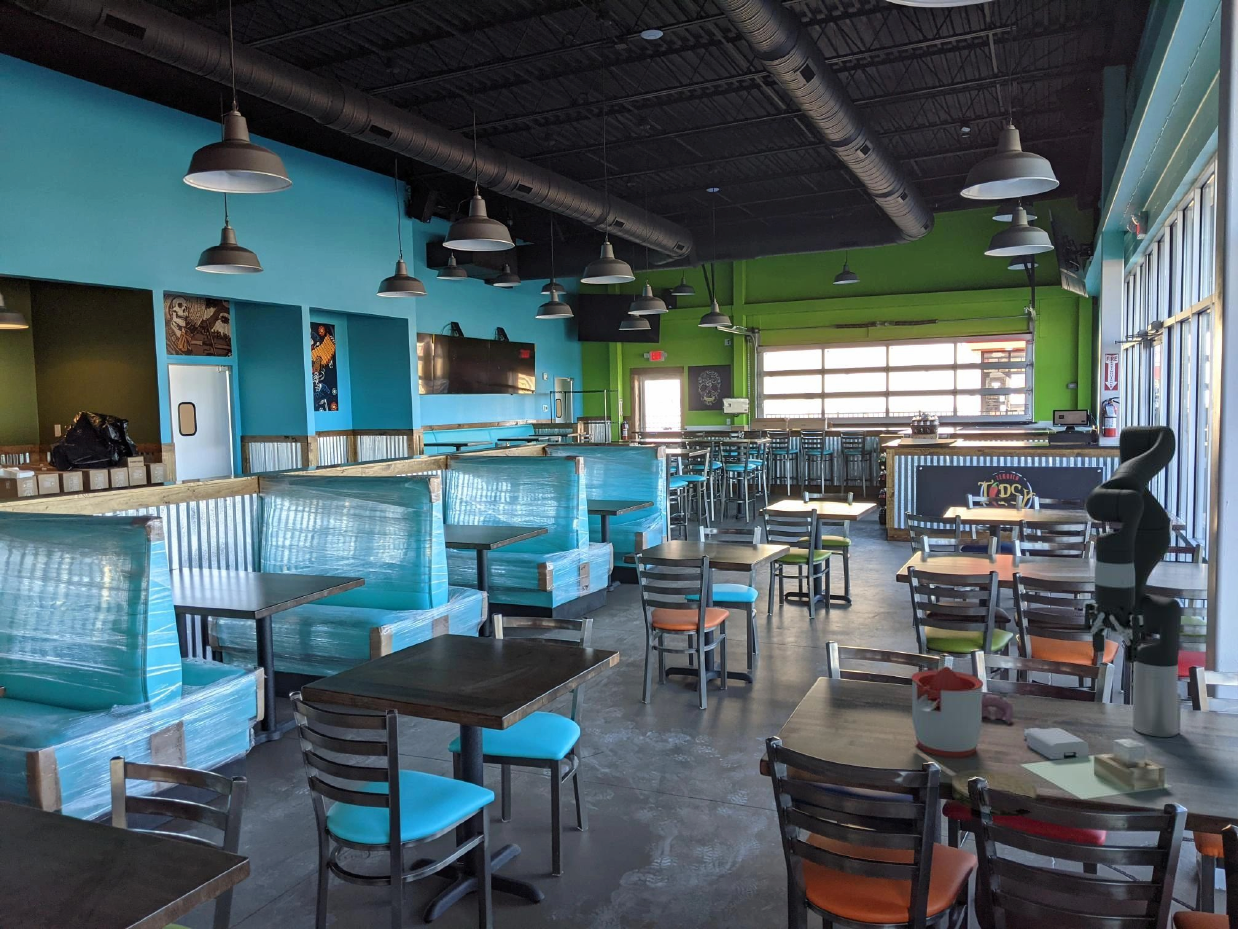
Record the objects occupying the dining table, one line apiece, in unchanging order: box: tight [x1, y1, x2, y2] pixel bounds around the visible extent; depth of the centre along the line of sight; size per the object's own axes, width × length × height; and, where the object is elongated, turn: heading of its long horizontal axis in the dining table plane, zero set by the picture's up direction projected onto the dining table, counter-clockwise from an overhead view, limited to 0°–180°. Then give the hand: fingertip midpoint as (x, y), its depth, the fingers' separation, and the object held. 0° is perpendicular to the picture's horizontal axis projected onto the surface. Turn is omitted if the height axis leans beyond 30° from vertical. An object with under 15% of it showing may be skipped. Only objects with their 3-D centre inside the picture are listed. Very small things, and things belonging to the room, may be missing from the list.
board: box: [1020, 753, 1173, 800], centre depth 183 cm, size 22×18×1 cm
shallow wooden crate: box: [1093, 753, 1166, 791], centre depth 180 cm, size 9×9×4 cm
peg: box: [1112, 738, 1146, 769], centre depth 180 cm, size 4×4×8 cm
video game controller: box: [982, 694, 1014, 725], centre depth 222 cm, size 10×5×7 cm, turn 59°
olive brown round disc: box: [951, 769, 1038, 817], centre depth 175 cm, size 16×16×3 cm
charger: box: [1022, 727, 1089, 760], centre depth 200 cm, size 5×9×15 cm
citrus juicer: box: [910, 666, 984, 758], centre depth 199 cm, size 16×17×20 cm
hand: (1114, 656), depth 186 cm, fingers open, 8 cm apart
